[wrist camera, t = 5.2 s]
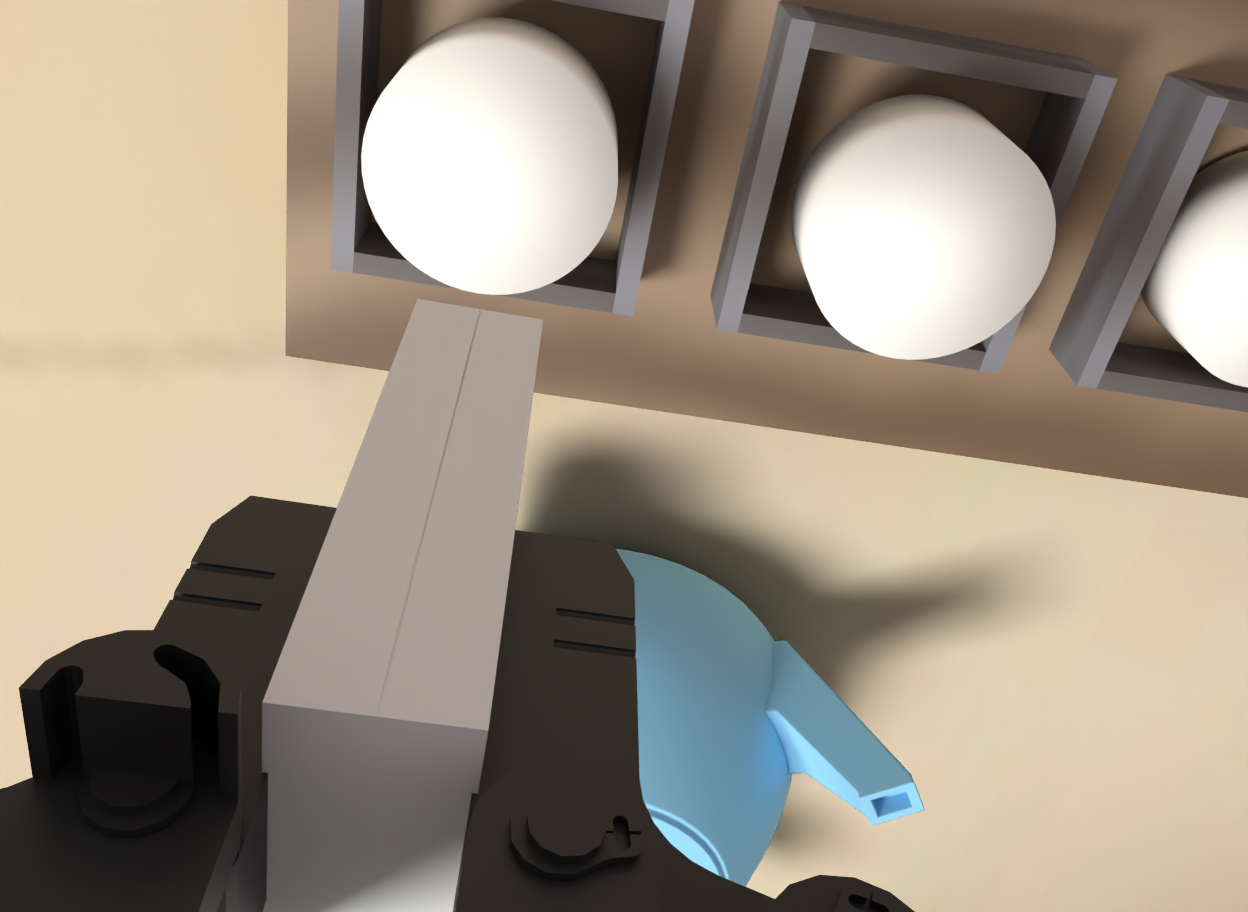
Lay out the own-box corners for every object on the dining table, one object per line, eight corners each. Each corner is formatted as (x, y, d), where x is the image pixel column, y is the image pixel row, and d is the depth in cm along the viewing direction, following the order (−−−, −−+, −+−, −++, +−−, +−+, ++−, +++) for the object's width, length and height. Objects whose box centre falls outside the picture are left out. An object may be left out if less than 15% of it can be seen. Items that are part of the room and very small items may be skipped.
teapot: (894, 598, 36) (988, 870, 27) (689, 859, 43) (710, 1145, 34) (472, 432, 33) (416, 682, 23) (325, 747, 40) (239, 1033, 31)
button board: (1233, 448, 33) (1324, 545, 29) (313, 308, 30) (264, 392, 26) (1505, -42, 26) (1681, -7, 21) (326, -285, 23) (260, -301, 19)
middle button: (971, 326, 25) (1003, 375, 23) (767, 293, 25) (781, 340, 23) (1050, 116, 23) (1095, 149, 21) (824, 75, 22) (846, 105, 20)
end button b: (597, 266, 25) (596, 312, 22) (378, 231, 24) (355, 274, 22) (636, 40, 22) (639, 67, 20) (391, -4, 21) (367, 18, 19)
